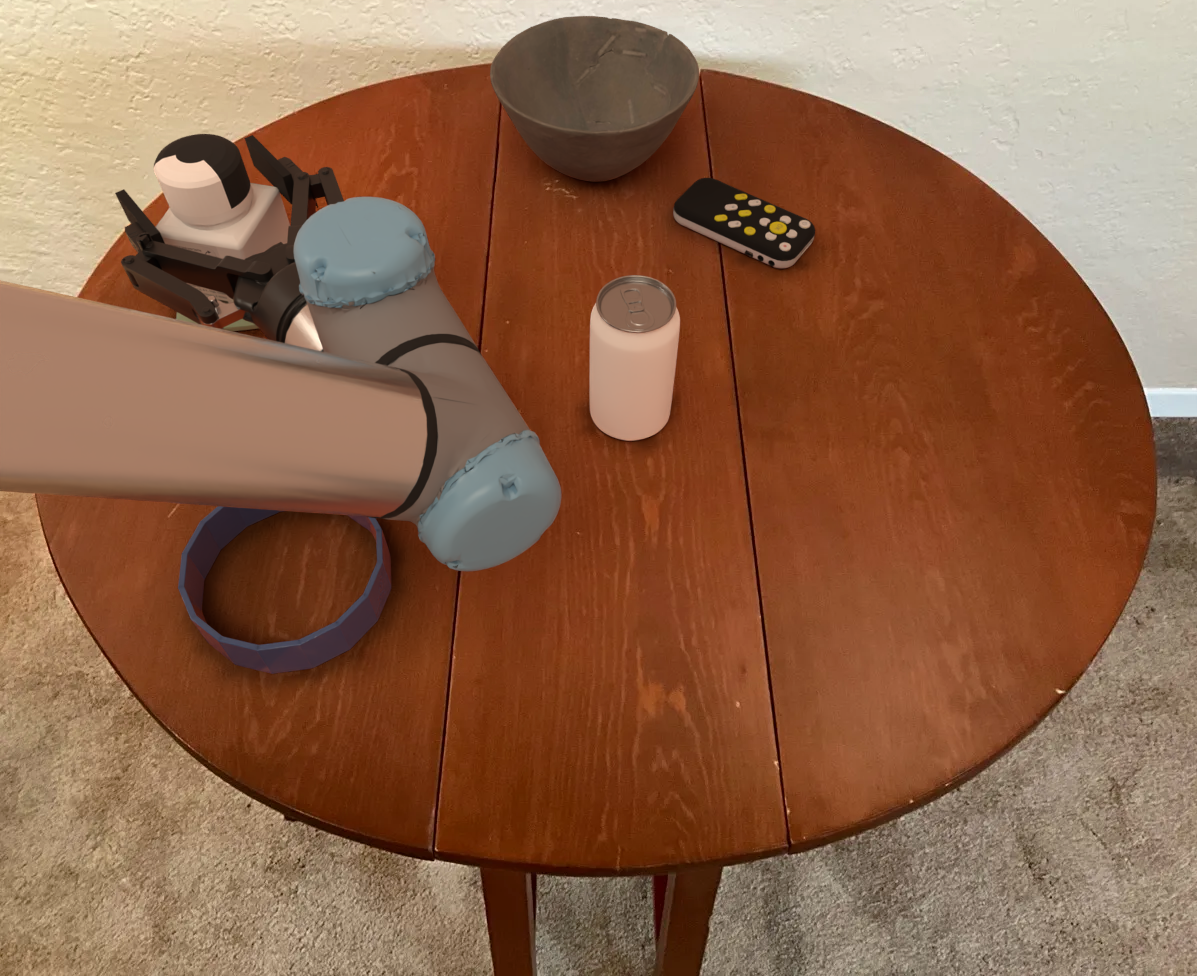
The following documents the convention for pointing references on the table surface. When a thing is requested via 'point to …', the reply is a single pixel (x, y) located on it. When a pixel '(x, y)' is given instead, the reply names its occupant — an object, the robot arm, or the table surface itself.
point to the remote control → (744, 222)
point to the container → (216, 202)
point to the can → (633, 356)
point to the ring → (287, 654)
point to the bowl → (594, 92)
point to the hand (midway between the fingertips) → (191, 176)
